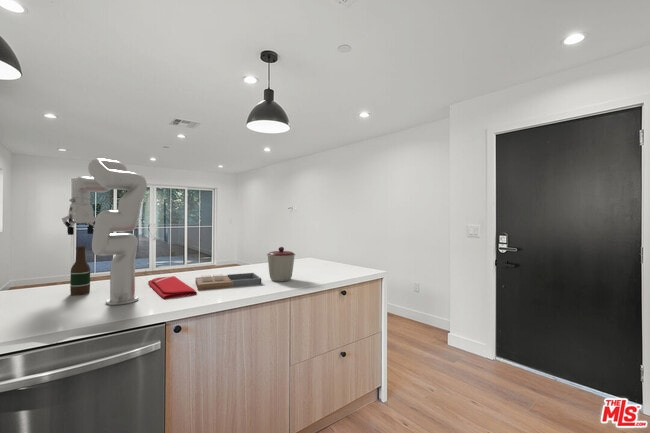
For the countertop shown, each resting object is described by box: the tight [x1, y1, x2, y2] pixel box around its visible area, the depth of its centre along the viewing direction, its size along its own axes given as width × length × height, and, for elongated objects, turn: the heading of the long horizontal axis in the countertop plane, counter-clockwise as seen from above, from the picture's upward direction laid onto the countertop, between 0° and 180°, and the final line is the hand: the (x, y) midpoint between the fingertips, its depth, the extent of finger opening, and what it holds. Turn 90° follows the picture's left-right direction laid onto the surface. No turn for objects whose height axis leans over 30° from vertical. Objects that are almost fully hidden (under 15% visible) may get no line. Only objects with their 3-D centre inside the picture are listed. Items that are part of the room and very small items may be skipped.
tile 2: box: [212, 273, 224, 280], centre depth 177 cm, size 5×5×2 cm
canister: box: [266, 246, 296, 283], centre depth 191 cm, size 18×18×21 cm
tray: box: [227, 272, 262, 288], centre depth 184 cm, size 20×16×4 cm
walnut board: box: [195, 274, 233, 291], centre depth 176 cm, size 20×18×3 cm
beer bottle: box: [69, 245, 91, 296], centre depth 153 cm, size 8×8×24 cm
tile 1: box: [200, 274, 212, 281], centre depth 174 cm, size 5×5×2 cm
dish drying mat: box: [147, 275, 198, 300], centre depth 165 cm, size 16×41×4 cm, turn 40°
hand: (80, 234), depth 159 cm, fingers open, 9 cm apart
